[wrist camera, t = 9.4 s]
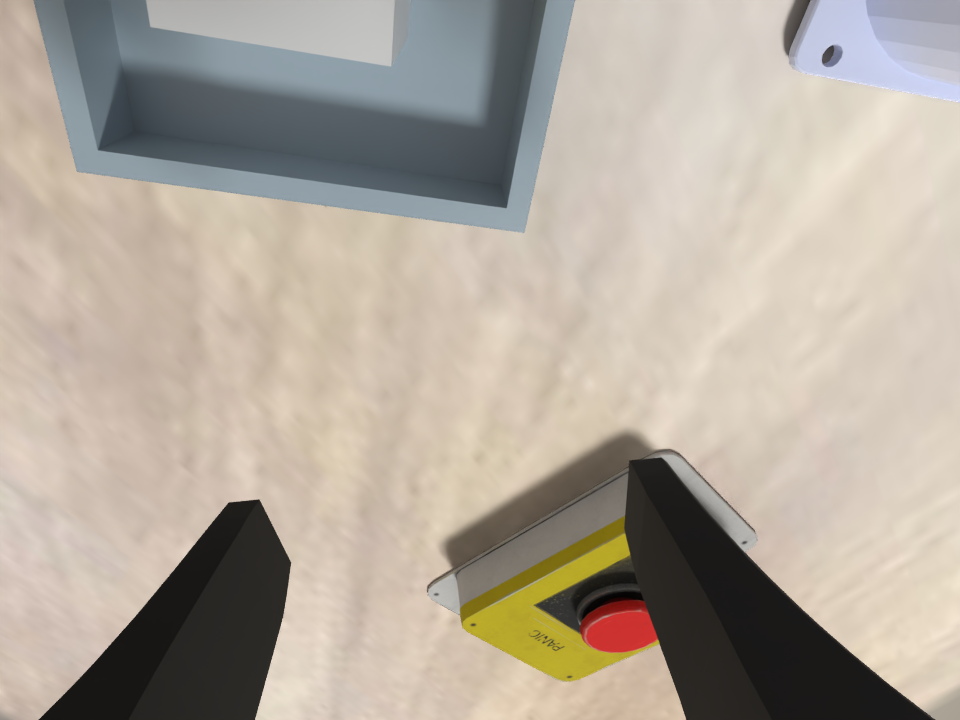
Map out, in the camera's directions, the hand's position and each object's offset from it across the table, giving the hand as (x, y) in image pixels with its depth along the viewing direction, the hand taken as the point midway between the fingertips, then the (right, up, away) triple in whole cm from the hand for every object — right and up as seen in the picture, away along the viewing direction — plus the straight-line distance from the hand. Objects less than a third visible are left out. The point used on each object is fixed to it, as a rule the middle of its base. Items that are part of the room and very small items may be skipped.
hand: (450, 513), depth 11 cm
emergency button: (+6, -7, +18) cm, 20 cm away
